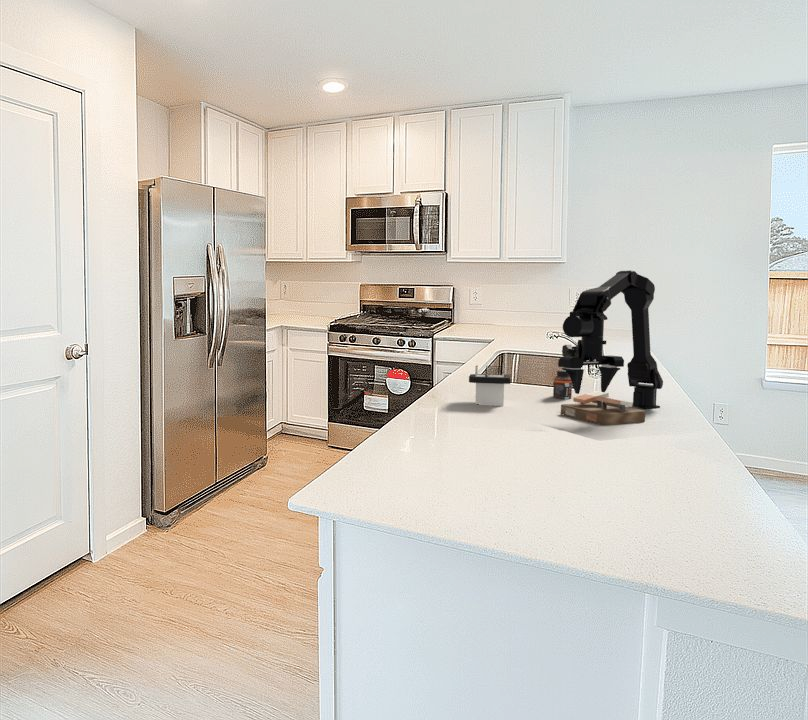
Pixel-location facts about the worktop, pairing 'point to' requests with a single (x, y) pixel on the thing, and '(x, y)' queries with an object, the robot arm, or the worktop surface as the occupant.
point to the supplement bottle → (562, 385)
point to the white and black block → (490, 386)
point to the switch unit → (603, 413)
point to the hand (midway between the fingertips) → (590, 392)
